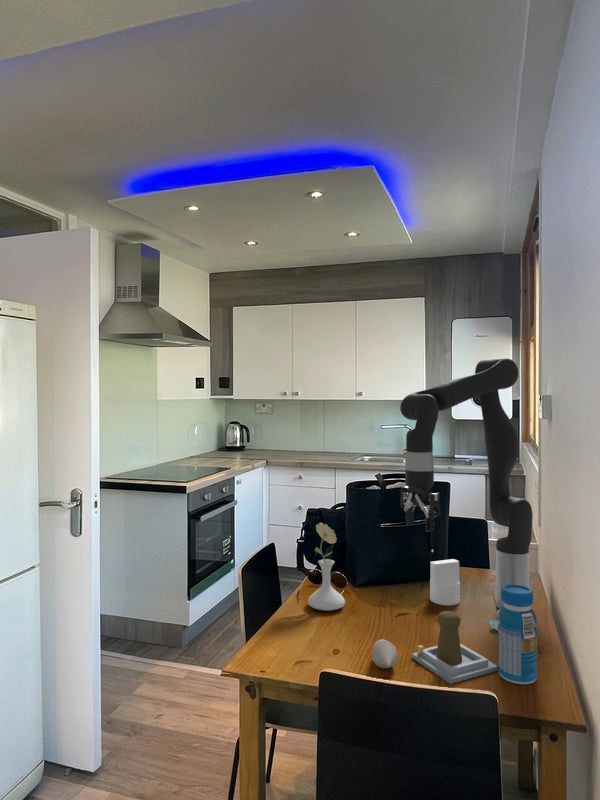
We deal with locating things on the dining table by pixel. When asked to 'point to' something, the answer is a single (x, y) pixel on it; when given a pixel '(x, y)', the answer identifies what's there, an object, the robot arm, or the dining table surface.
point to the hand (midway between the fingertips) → (419, 528)
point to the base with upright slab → (445, 582)
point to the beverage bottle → (517, 635)
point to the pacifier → (494, 622)
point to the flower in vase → (326, 577)
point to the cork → (449, 638)
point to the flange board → (455, 673)
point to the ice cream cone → (384, 654)
